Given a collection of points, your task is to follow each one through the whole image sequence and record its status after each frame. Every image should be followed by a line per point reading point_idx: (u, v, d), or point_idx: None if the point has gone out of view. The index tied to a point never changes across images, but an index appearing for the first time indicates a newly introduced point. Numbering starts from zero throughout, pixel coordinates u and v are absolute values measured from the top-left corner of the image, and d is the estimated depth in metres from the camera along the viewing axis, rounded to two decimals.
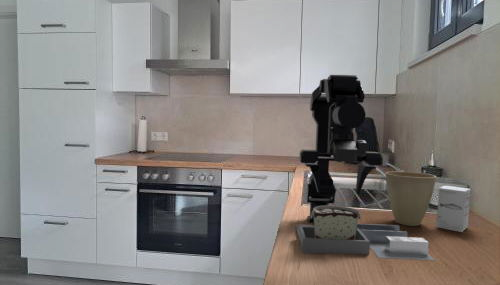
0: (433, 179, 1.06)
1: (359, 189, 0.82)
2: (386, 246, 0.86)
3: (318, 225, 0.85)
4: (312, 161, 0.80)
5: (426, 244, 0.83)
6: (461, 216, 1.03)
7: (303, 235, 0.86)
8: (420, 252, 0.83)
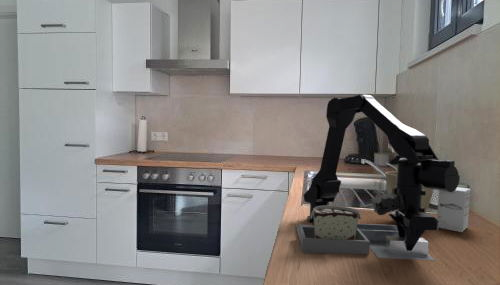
0: None
1: (406, 245, 0.83)
2: (386, 246, 0.86)
3: (318, 225, 0.85)
4: None
5: (426, 244, 0.83)
6: (461, 216, 1.03)
7: (303, 235, 0.86)
8: (420, 252, 0.83)
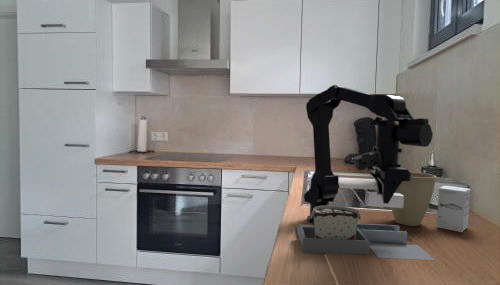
0: (433, 179, 1.06)
1: (383, 198, 0.91)
2: (366, 200, 0.94)
3: (318, 225, 0.85)
4: (366, 168, 0.99)
5: (402, 198, 0.91)
6: (461, 216, 1.03)
7: (303, 235, 0.86)
8: (396, 205, 0.91)
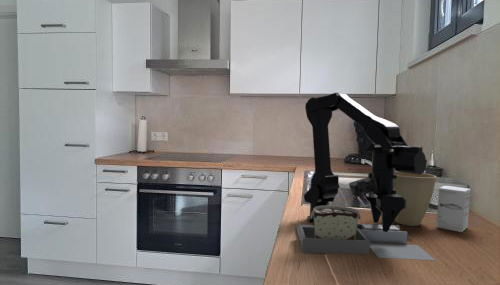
0: (433, 179, 1.06)
1: (382, 226, 0.90)
2: None
3: (318, 225, 0.85)
4: (363, 193, 1.00)
5: None
6: (461, 216, 1.03)
7: (303, 235, 0.86)
8: None
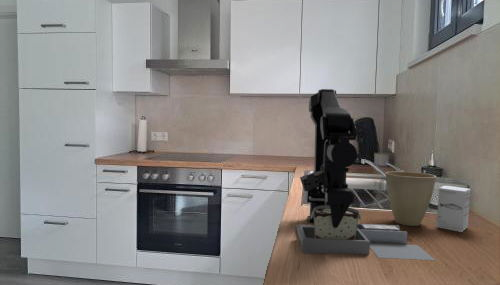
0: (433, 179, 1.06)
1: (332, 222, 0.85)
2: None
3: (318, 225, 0.85)
4: (317, 187, 0.95)
5: None
6: (461, 216, 1.03)
7: (303, 235, 0.86)
8: None
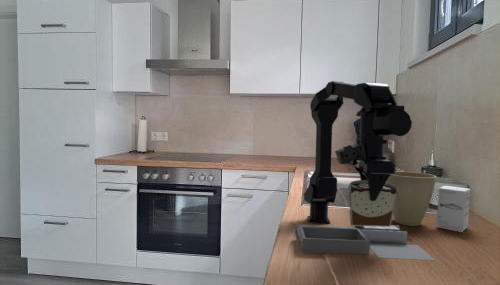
0: (433, 179, 1.06)
1: (370, 195, 0.83)
2: None
3: (355, 200, 0.83)
4: (352, 163, 0.93)
5: None
6: (461, 216, 1.03)
7: (303, 235, 0.86)
8: None
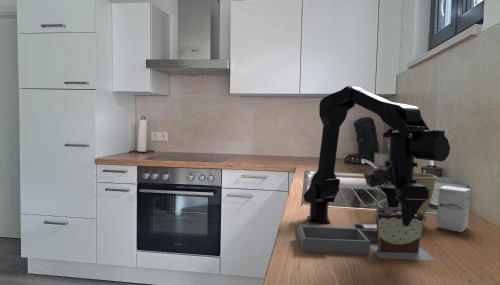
0: (433, 179, 1.06)
1: (402, 220, 0.80)
2: None
3: (382, 227, 0.83)
4: None
5: None
6: (461, 216, 1.03)
7: (303, 235, 0.86)
8: None
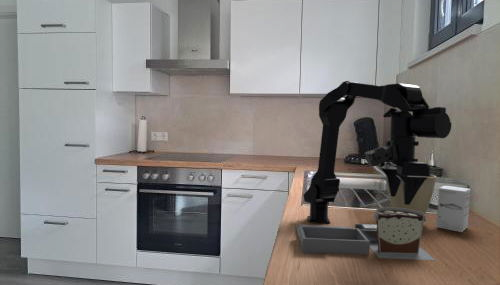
0: (433, 179, 1.06)
1: (404, 199, 0.80)
2: None
3: (382, 227, 0.83)
4: (379, 165, 0.91)
5: None
6: (461, 216, 1.03)
7: (303, 235, 0.86)
8: None
